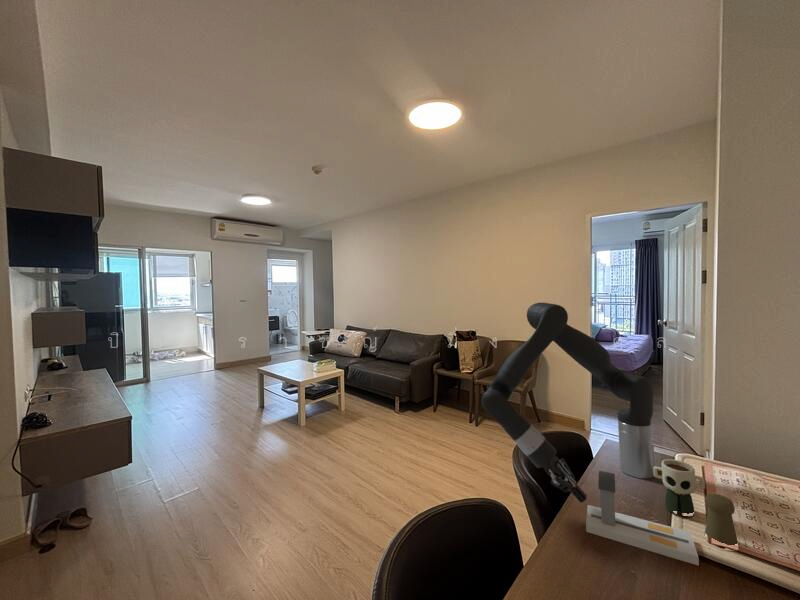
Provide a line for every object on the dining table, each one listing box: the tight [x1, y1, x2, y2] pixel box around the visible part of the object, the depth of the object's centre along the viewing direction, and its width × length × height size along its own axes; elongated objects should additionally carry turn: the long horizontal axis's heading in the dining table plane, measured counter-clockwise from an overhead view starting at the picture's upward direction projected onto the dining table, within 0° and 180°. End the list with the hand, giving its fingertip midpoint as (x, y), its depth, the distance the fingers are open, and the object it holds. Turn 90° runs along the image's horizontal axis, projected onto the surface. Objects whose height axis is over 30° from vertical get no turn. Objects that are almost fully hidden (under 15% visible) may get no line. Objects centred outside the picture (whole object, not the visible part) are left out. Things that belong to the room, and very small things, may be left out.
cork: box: [704, 493, 739, 545], centre depth 80 cm, size 6×6×11 cm
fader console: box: [585, 504, 700, 567], centre depth 83 cm, size 22×9×2 cm, turn 57°
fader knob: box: [598, 470, 616, 526], centre depth 86 cm, size 4×6×11 cm, turn 147°
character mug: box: [653, 458, 706, 514], centre depth 91 cm, size 11×7×13 cm, turn 49°
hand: (584, 499), depth 89 cm, fingers closed
